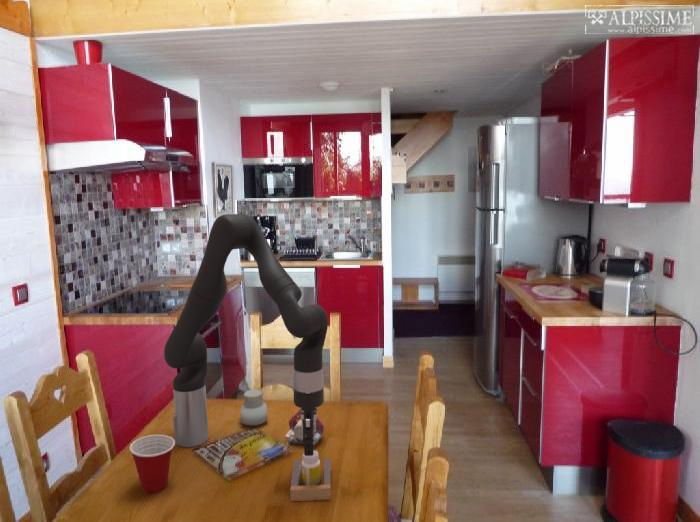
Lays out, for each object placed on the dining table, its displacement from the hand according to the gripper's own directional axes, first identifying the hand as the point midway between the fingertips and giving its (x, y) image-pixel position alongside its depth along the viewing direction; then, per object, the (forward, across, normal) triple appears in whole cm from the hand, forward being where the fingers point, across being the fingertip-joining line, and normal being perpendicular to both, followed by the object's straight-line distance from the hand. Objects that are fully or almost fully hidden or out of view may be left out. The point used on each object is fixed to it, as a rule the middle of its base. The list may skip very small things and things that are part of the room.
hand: (309, 446), depth 126 cm
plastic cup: (+11, -2, -40) cm, 41 cm away
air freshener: (+12, -37, -20) cm, 43 cm away
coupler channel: (+10, -1, 0) cm, 11 cm away
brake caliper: (+11, -23, -2) cm, 26 cm away
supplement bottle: (+11, 0, 0) cm, 11 cm away
